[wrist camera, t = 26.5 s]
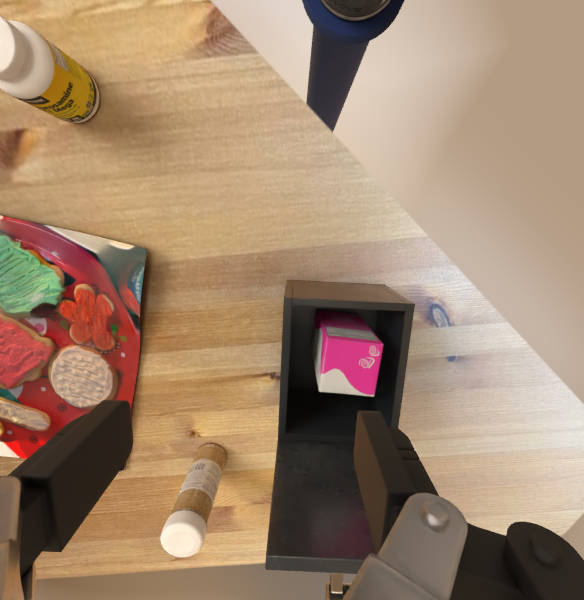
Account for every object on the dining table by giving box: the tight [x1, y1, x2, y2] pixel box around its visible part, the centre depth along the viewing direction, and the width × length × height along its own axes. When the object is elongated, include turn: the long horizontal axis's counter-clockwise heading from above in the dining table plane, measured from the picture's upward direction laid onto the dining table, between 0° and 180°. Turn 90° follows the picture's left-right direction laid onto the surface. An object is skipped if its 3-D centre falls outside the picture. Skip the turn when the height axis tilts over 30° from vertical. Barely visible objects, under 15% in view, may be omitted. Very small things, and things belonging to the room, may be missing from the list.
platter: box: [0, 215, 147, 471], centre depth 43 cm, size 35×35×2 cm
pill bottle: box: [0, 16, 99, 123], centre depth 32 cm, size 6×6×11 cm
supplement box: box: [311, 309, 384, 397], centre depth 37 cm, size 6×6×12 cm
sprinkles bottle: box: [161, 444, 227, 557], centre depth 41 cm, size 5×5×13 cm
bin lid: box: [265, 440, 376, 600], centre depth 26 cm, size 16×13×5 cm
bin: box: [278, 280, 415, 443], centre depth 38 cm, size 16×13×11 cm
